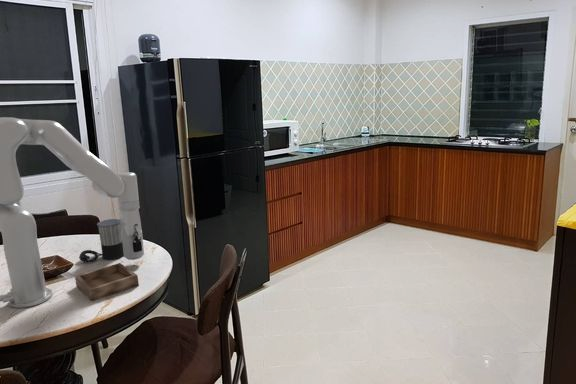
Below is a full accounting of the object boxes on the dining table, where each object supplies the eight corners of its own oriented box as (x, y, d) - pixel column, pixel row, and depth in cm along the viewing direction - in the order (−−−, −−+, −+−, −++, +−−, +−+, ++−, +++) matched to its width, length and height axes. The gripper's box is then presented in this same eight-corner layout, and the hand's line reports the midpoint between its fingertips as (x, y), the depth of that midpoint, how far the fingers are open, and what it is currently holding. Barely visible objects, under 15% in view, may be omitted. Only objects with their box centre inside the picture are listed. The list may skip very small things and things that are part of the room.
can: (138, 261, 169) (135, 231, 166) (120, 260, 170) (117, 230, 168) (147, 254, 176) (145, 225, 173) (130, 253, 177) (127, 224, 175)
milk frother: (130, 253, 185) (126, 220, 182) (99, 268, 172) (93, 231, 169) (107, 249, 192) (102, 216, 189) (75, 262, 179) (69, 227, 175)
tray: (91, 301, 144) (89, 290, 143) (76, 286, 156) (74, 276, 155) (138, 285, 154) (137, 275, 154) (121, 272, 166) (119, 262, 165)
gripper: (110, 202, 172) (115, 245, 176) (128, 210, 160) (133, 257, 163) (129, 199, 177) (133, 241, 181) (148, 207, 164) (152, 252, 168)
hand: (133, 248), depth 172 cm, fingers closed on can, 7 cm apart
